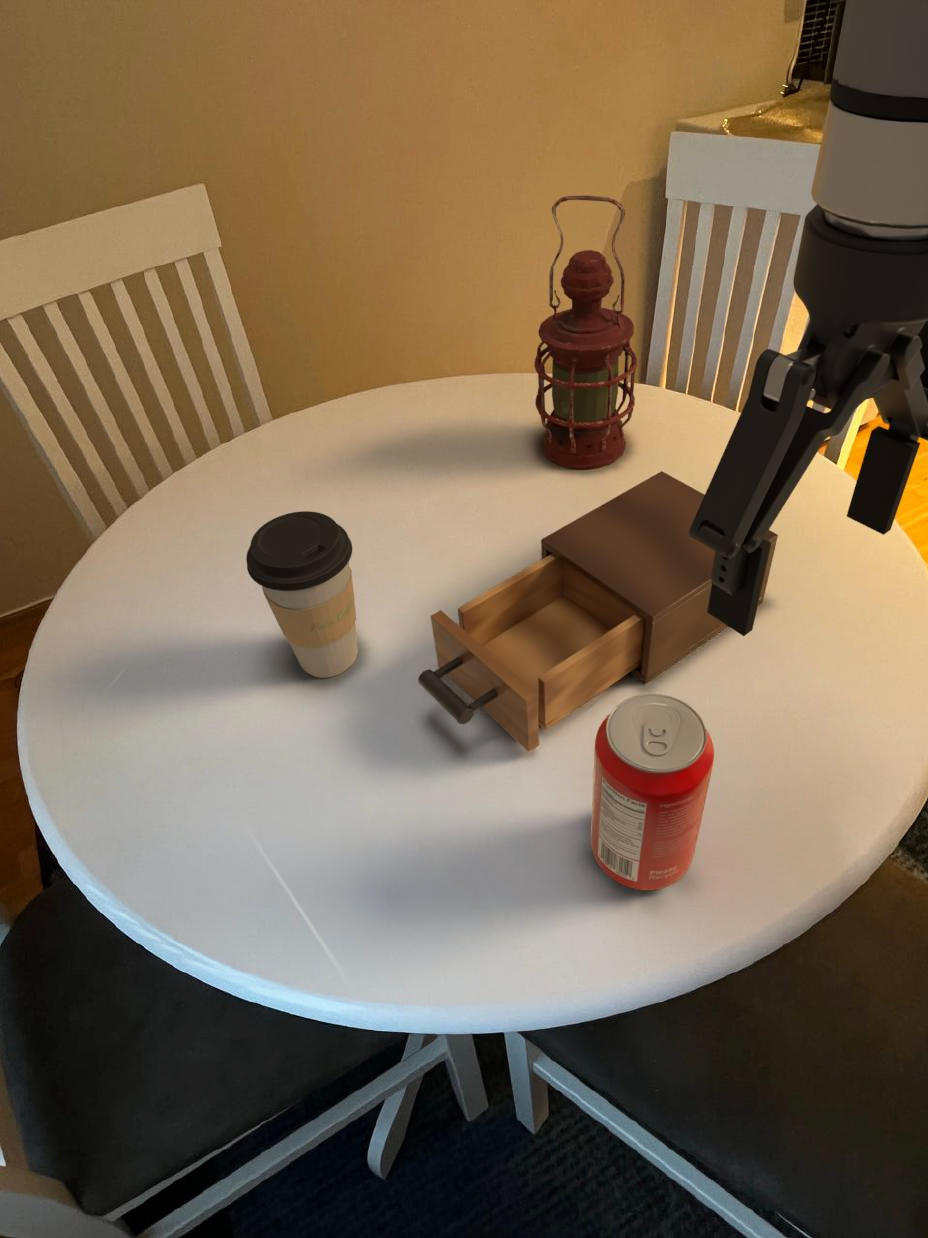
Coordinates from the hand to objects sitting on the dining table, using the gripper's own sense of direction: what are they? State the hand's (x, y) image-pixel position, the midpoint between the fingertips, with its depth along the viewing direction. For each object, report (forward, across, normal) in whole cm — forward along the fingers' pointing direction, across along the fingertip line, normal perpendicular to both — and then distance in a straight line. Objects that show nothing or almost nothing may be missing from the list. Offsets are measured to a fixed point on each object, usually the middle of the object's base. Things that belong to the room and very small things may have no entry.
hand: (802, 570), depth 52 cm
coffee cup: (+24, +18, -37) cm, 47 cm away
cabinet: (+24, -11, -20) cm, 33 cm away
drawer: (+23, +6, -21) cm, 31 cm away
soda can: (+24, +10, -2) cm, 26 cm away
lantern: (+24, -26, -46) cm, 58 cm away
